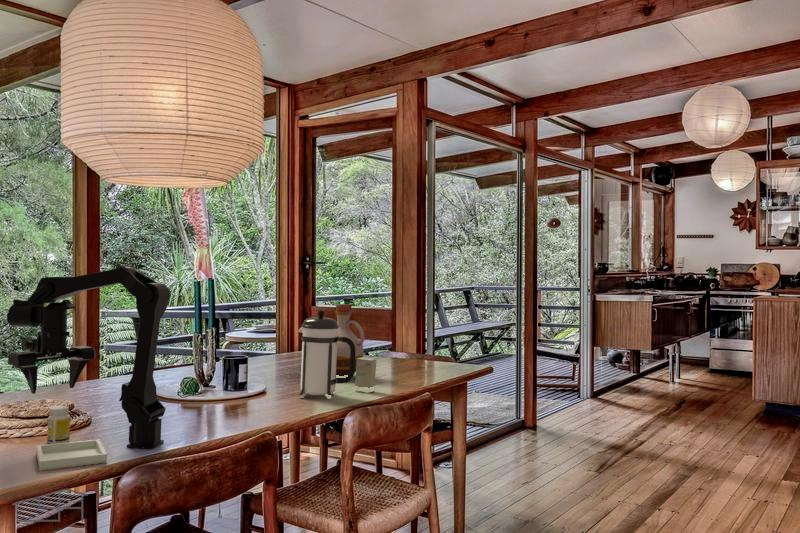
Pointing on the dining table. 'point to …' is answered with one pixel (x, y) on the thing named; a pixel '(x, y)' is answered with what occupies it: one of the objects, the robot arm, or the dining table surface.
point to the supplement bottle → (58, 425)
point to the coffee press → (322, 355)
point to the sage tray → (70, 454)
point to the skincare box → (365, 372)
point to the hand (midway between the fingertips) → (52, 390)
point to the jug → (343, 347)
